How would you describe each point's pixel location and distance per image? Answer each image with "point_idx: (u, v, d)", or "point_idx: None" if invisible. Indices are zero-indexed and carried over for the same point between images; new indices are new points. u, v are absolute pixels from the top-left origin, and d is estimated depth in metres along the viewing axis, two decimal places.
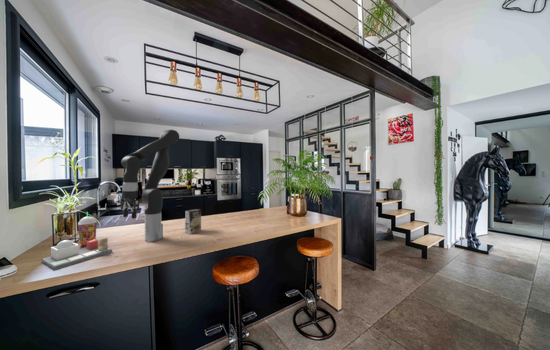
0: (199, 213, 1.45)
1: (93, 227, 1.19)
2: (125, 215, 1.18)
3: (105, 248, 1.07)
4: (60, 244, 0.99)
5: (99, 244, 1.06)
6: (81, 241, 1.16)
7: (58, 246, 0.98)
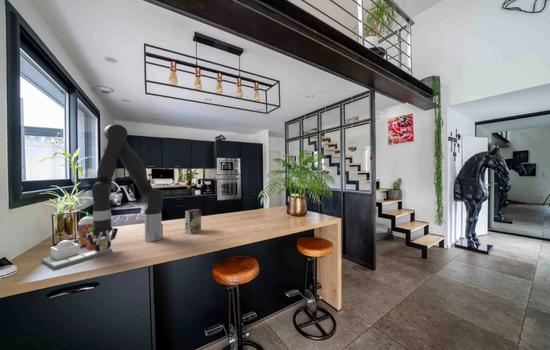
0: (199, 213, 1.45)
1: None
2: None
3: (105, 248, 1.07)
4: (60, 244, 0.99)
5: (99, 244, 1.06)
6: (81, 241, 1.16)
7: (58, 246, 0.98)
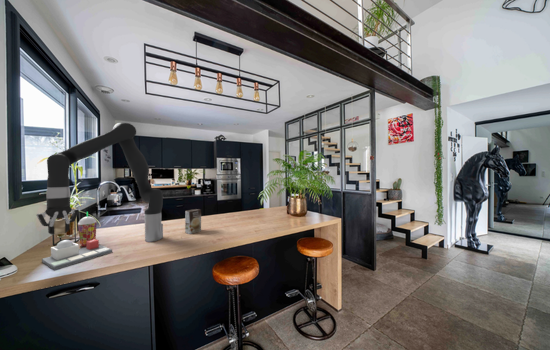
0: (199, 213, 1.45)
1: (93, 227, 1.19)
2: None
3: (61, 231, 0.92)
4: (60, 244, 0.99)
5: (54, 226, 0.91)
6: (81, 241, 1.16)
7: (58, 246, 0.98)
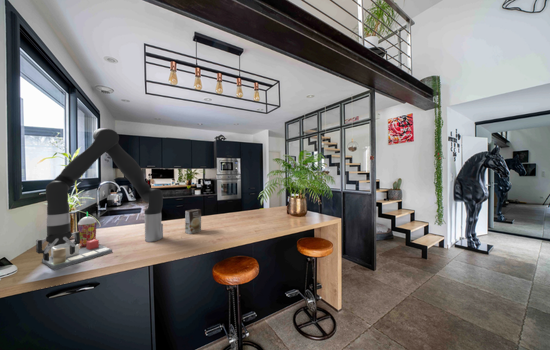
0: (199, 213, 1.45)
1: (93, 227, 1.19)
2: None
3: (62, 260, 0.93)
4: (60, 244, 0.99)
5: (54, 256, 0.91)
6: (81, 241, 1.16)
7: (58, 246, 0.98)
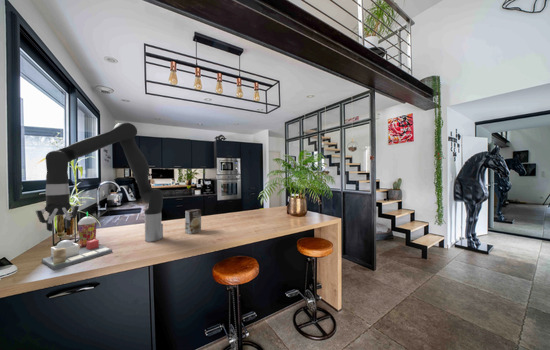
0: (199, 213, 1.45)
1: (93, 227, 1.19)
2: None
3: (62, 260, 0.93)
4: (60, 244, 0.99)
5: (54, 256, 0.91)
6: (81, 241, 1.16)
7: (58, 246, 0.98)
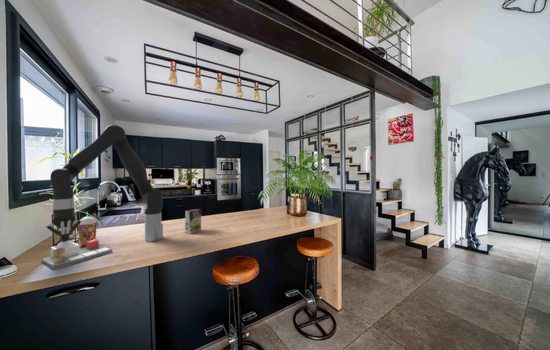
0: (199, 213, 1.45)
1: (93, 227, 1.19)
2: None
3: (61, 260, 0.92)
4: (60, 245, 0.99)
5: (53, 256, 0.91)
6: (81, 241, 1.16)
7: (58, 247, 0.98)
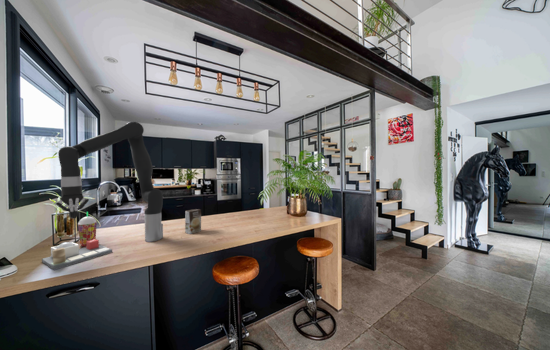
0: (199, 213, 1.45)
1: (93, 227, 1.19)
2: None
3: (60, 261, 0.92)
4: (60, 246, 0.99)
5: (53, 256, 0.91)
6: (81, 241, 1.16)
7: None
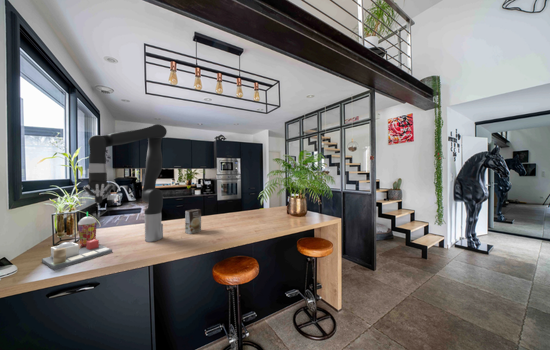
0: (199, 213, 1.45)
1: (93, 227, 1.19)
2: None
3: (60, 261, 0.92)
4: (60, 246, 0.99)
5: (54, 256, 0.91)
6: (81, 241, 1.16)
7: None
